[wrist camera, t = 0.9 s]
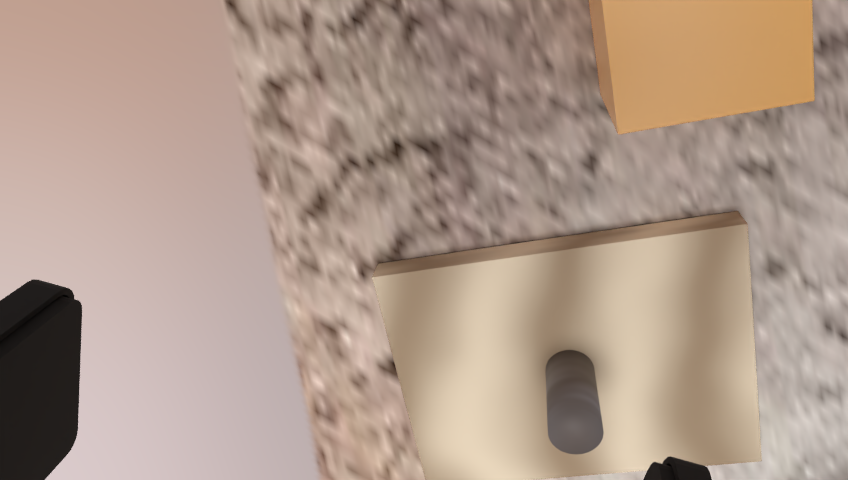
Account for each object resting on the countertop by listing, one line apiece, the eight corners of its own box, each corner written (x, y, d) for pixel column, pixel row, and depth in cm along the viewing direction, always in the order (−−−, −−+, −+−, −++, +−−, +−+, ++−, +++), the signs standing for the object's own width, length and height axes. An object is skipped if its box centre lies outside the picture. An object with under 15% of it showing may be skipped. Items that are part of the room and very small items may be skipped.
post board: (737, 210, 31) (782, 270, 26) (752, 440, 35) (793, 534, 30) (378, 263, 34) (349, 326, 29) (431, 468, 39) (415, 557, 33)
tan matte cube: (747, -98, 27) (809, -107, 21) (755, 65, 29) (814, 100, 23) (580, -61, 28) (594, -59, 22) (600, 94, 30) (618, 134, 24)
